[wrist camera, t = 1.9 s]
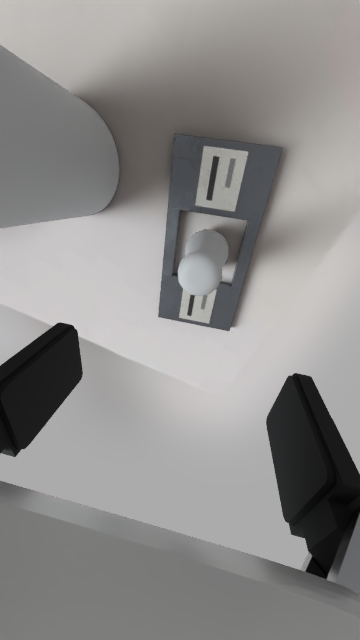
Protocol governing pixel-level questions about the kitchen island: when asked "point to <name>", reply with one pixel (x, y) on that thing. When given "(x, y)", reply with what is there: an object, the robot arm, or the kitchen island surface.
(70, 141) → the cylinder vase
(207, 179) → the label board
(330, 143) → the kitchen island surface
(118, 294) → the kitchen island surface
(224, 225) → the kitchen island surface
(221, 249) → the salt shaker
